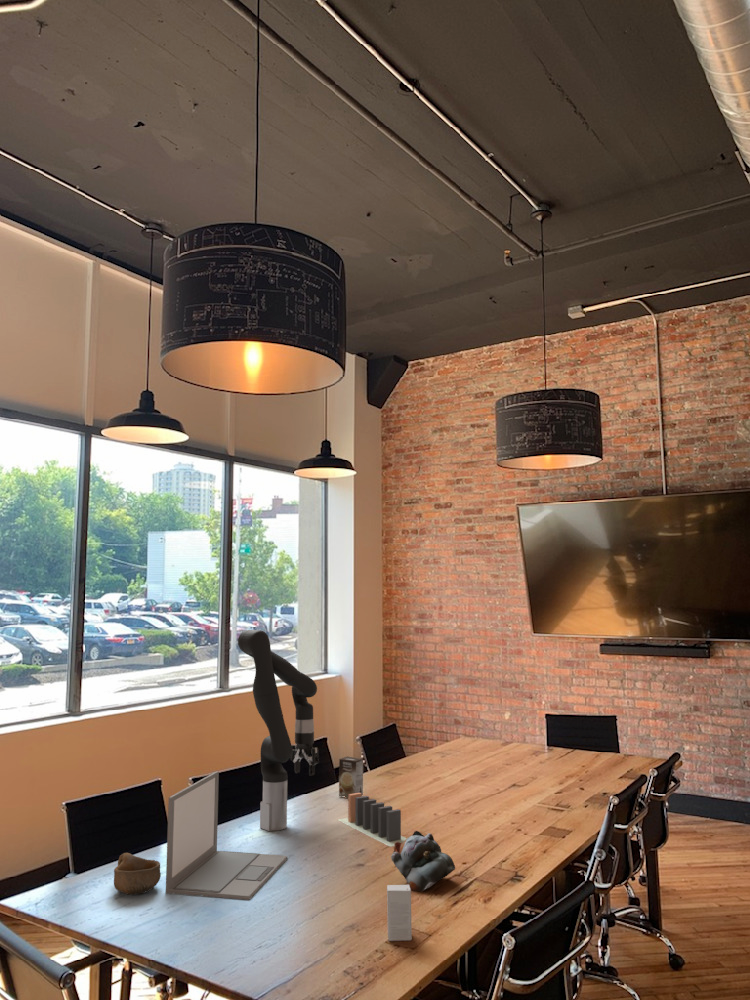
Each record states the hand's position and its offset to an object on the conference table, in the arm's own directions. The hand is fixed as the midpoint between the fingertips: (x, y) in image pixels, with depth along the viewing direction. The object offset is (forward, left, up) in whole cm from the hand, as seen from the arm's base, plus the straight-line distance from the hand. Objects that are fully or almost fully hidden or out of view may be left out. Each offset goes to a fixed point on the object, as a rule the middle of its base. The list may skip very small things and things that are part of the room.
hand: (304, 774), depth 294 cm
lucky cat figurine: (-11, -76, -18) cm, 79 cm away
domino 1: (+14, -14, -17) cm, 26 cm away
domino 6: (+9, -41, -17) cm, 46 cm away
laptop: (-51, -31, -18) cm, 63 cm away
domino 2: (+13, -20, -17) cm, 29 cm away
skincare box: (-42, -98, -18) cm, 108 cm away
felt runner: (+11, -28, -18) cm, 35 cm away
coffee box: (+37, +16, -18) cm, 44 cm away
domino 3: (+12, -25, -17) cm, 33 cm away
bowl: (-79, -22, -18) cm, 84 cm away
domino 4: (+11, -31, -17) cm, 37 cm away
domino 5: (+10, -36, -17) cm, 41 cm away
